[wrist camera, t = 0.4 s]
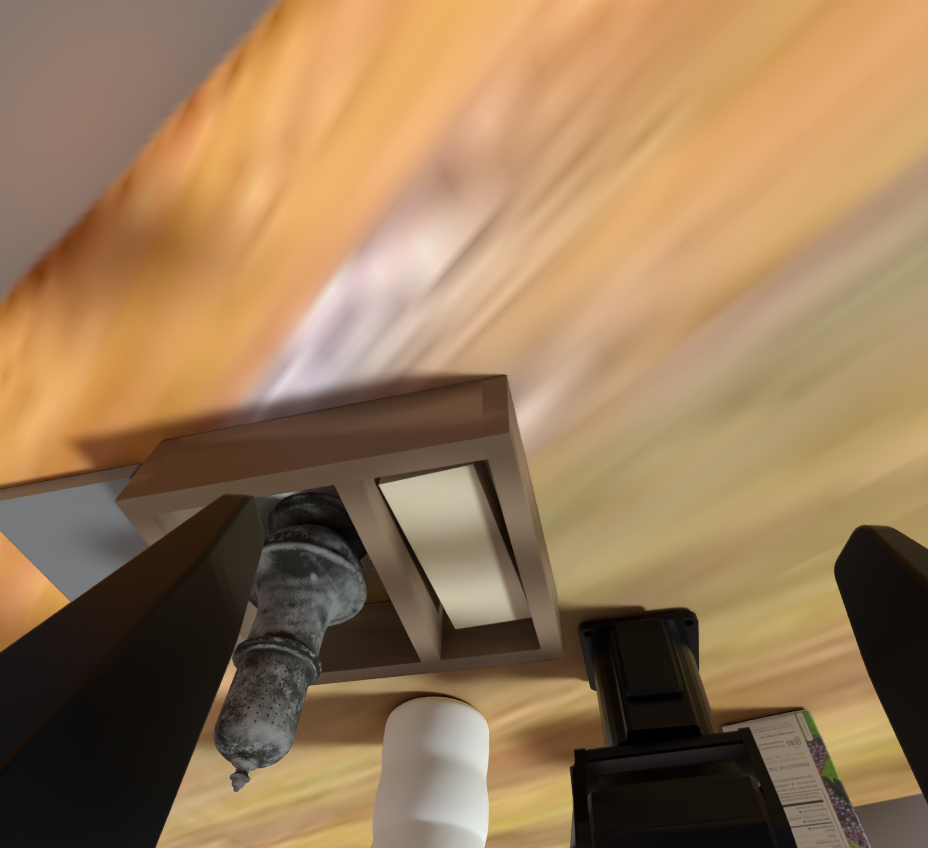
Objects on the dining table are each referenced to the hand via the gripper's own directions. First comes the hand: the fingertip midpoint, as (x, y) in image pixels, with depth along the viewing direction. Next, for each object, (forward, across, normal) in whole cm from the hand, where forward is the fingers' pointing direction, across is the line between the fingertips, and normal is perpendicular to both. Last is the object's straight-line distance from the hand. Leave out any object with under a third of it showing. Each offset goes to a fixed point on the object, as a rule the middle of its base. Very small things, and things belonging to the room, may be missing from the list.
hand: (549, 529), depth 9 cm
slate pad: (+14, +19, +18) cm, 30 cm away
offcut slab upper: (+13, +1, +13) cm, 18 cm away
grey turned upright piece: (+14, +9, +15) cm, 23 cm away
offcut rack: (+14, +6, +14) cm, 21 cm away
